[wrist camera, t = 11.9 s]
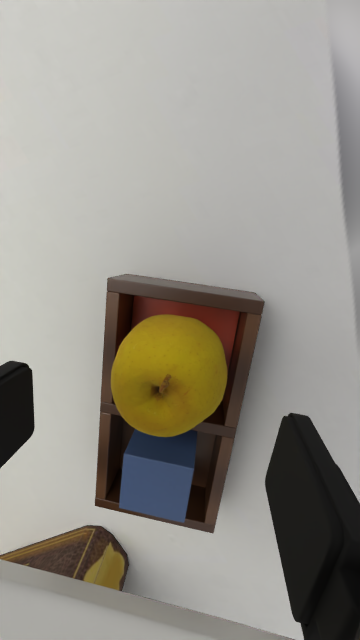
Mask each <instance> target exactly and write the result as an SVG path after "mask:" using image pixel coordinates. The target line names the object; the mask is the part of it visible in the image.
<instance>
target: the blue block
mask: <svg viewBox="0 0 360 640" xmlns="http://www.w3.org/2000/svg"><path fill="white" fill-rule="evenodd" d="M197 432H198V431H194V430H189V431H187V432H184V433H182V434H179V435H176V436H172V437H158V436H153V435H149V434H146V433H143V432H141V431H138V430H137V429H135V430H134V432H133V435H132V437H131V439H130V441H129V444H128V446H127V448H126V450H125V452H124V457H123V468H122V480H121V491H120V502H119V508H121V509H126V510H130V511H134V512H139V513H143V514H147V515H152V516H156V517H160V518H164V519H169V520H173V521H177V522H182V523H184V522H185V517H186V511H187V506H188V500H189V495H190V489H191V483H192V478H193V472H194V465H195V454H196V443H197Z"/></svg>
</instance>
